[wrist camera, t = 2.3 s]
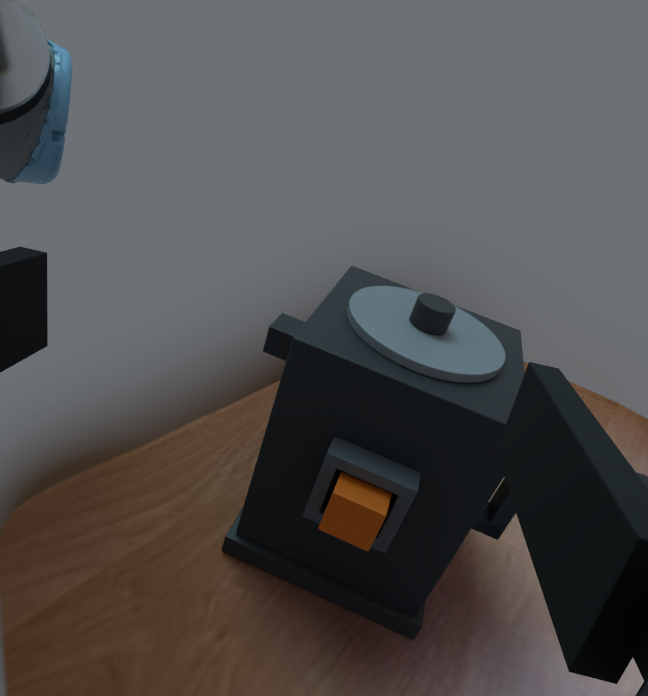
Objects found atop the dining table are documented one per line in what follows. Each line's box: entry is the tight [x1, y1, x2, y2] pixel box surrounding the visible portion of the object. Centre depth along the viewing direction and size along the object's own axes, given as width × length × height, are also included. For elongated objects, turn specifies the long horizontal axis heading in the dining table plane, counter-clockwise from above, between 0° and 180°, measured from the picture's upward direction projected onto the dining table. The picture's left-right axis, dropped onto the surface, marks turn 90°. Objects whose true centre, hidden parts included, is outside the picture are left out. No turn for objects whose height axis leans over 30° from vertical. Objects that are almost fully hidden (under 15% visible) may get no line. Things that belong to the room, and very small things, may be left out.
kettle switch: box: [318, 472, 392, 551], centre depth 29 cm, size 3×2×3 cm, turn 73°
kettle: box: [222, 266, 525, 640], centre depth 36 cm, size 20×15×20 cm
